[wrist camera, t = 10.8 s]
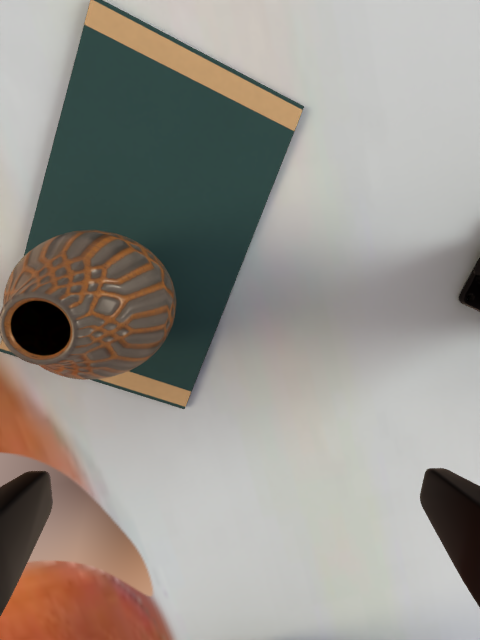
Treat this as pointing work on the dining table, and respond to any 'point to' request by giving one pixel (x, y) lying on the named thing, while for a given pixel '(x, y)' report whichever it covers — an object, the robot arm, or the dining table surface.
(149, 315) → the vase
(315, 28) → the dining table surface
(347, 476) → the dining table surface
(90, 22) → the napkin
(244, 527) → the dining table surface
